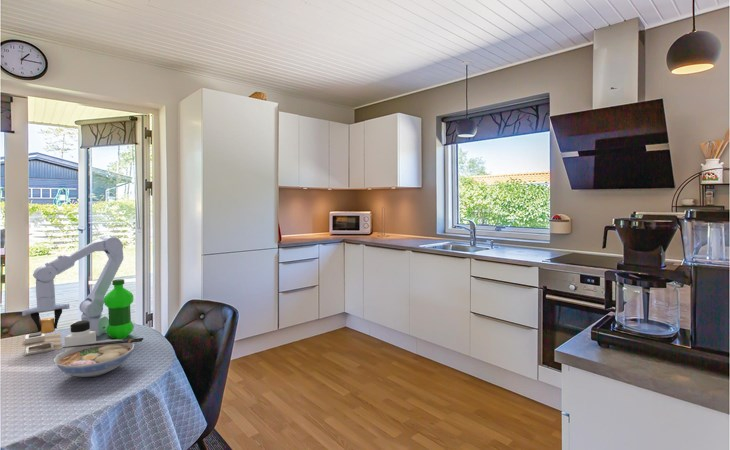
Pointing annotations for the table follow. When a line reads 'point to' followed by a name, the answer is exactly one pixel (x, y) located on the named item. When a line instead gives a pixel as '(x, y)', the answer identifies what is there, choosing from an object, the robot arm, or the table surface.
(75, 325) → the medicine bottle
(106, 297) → the plastic bottle
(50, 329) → the cap
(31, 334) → the button
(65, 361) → the ramen bowl
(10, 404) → the table surface
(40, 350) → the grey square frame
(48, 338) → the tan flat plate
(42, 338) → the frame
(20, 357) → the table surface
